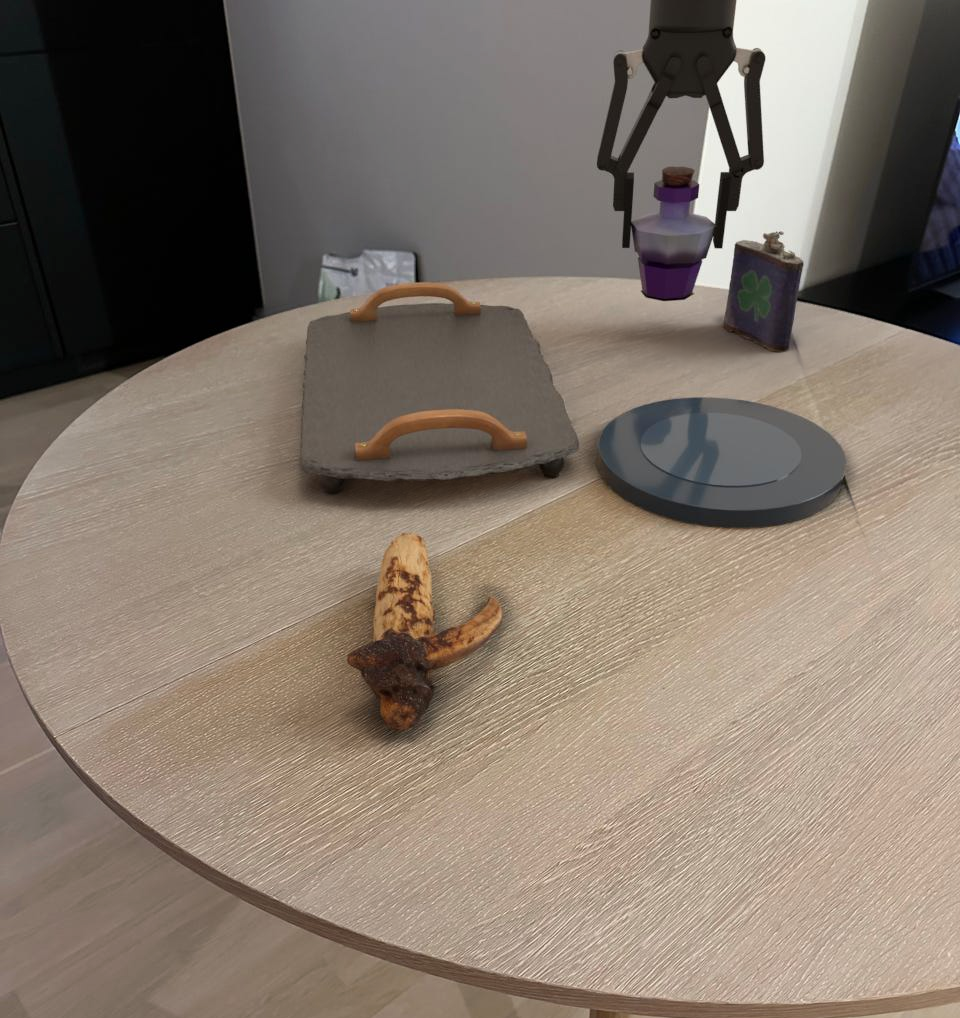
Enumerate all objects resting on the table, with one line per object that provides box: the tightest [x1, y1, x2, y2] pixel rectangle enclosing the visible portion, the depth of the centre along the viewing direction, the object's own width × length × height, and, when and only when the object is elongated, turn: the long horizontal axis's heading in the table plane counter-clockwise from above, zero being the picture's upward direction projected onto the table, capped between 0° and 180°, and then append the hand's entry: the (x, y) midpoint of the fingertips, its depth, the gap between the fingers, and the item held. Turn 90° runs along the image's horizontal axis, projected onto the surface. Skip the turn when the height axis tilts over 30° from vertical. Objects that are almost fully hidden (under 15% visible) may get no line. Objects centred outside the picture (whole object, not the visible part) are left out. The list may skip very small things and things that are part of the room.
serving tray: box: [299, 281, 580, 496], centre depth 89 cm, size 39×23×6 cm, turn 7°
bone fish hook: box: [346, 532, 504, 730], centre depth 61 cm, size 9×5×18 cm
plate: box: [596, 396, 847, 529], centre depth 80 cm, size 20×20×2 cm
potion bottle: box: [631, 165, 717, 302], centre depth 98 cm, size 9×9×12 cm
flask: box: [723, 230, 805, 353], centre depth 99 cm, size 9×3×11 cm, turn 28°
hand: (671, 244), depth 98 cm, fingers closed on potion bottle, 8 cm apart
